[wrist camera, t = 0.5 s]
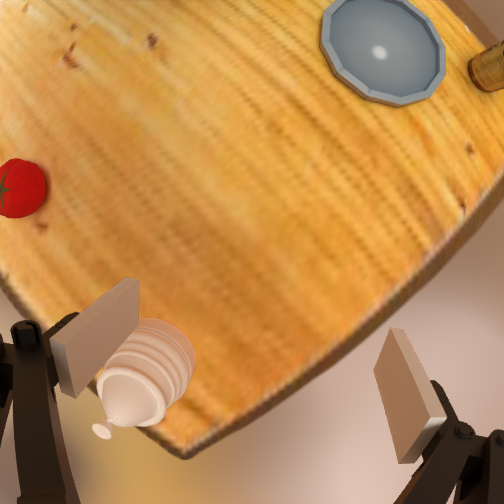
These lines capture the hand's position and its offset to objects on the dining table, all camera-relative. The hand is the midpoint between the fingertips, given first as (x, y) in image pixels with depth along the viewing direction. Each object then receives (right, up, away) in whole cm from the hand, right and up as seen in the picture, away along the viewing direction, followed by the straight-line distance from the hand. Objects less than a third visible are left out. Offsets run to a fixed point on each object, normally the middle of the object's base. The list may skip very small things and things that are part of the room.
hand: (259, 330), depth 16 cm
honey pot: (-15, -12, +32) cm, 38 cm away
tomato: (-36, +14, +28) cm, 48 cm away
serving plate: (+18, +32, +19) cm, 42 cm away
